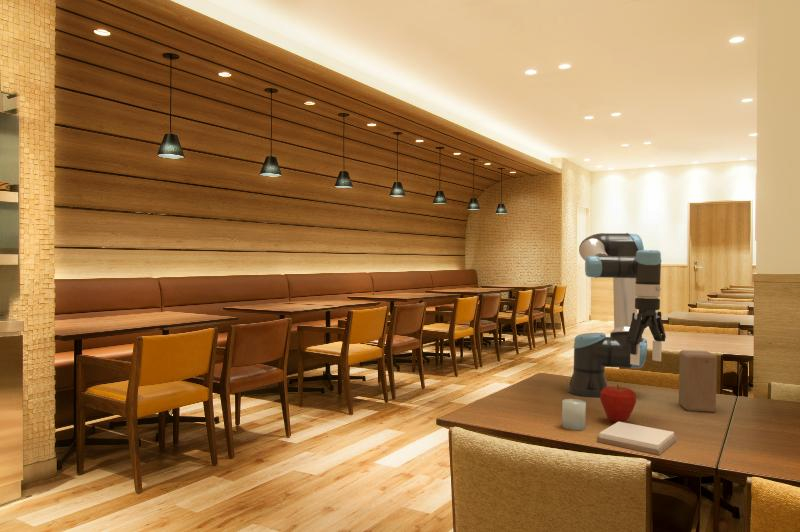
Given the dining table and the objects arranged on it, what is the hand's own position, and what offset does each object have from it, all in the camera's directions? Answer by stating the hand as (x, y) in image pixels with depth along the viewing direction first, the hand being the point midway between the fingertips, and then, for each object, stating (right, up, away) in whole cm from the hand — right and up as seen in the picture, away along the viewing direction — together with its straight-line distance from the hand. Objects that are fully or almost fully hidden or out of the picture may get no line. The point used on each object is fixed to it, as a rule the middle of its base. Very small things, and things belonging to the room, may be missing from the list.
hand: (646, 362), depth 189 cm
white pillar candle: (-26, -19, -8) cm, 33 cm away
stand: (-12, -19, -21) cm, 31 cm away
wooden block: (+26, -19, +18) cm, 37 cm away
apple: (-10, -19, -1) cm, 21 cm away
